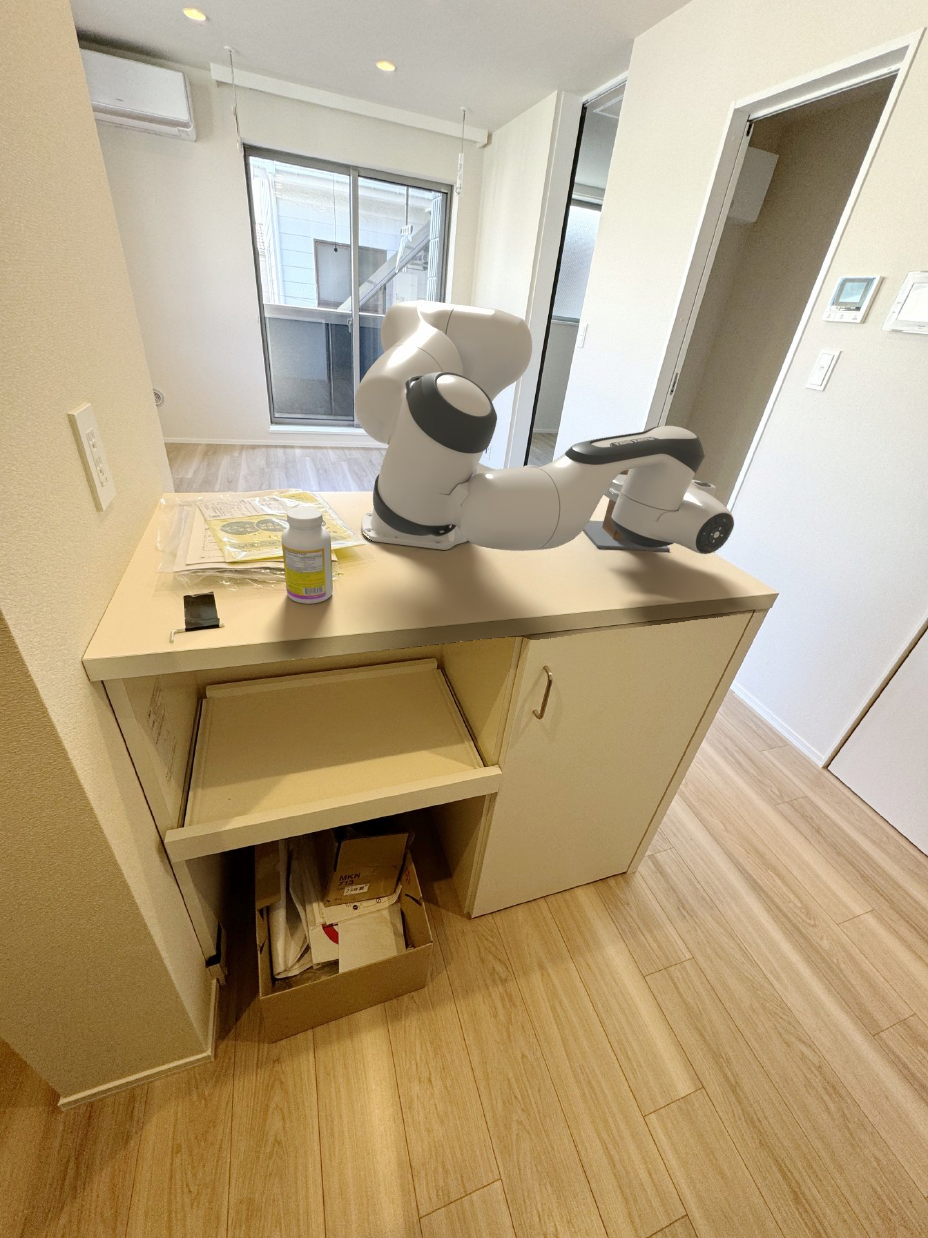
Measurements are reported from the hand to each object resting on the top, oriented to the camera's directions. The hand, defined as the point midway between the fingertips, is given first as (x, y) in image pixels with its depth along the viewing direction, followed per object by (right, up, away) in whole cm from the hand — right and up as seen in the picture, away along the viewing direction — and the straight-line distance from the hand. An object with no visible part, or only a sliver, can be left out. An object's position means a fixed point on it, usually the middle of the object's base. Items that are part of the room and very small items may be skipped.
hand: (637, 477), depth 104 cm
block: (-1, -10, +6) cm, 12 cm away
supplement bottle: (-59, -25, -28) cm, 70 cm away
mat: (-1, -11, +6) cm, 13 cm away
